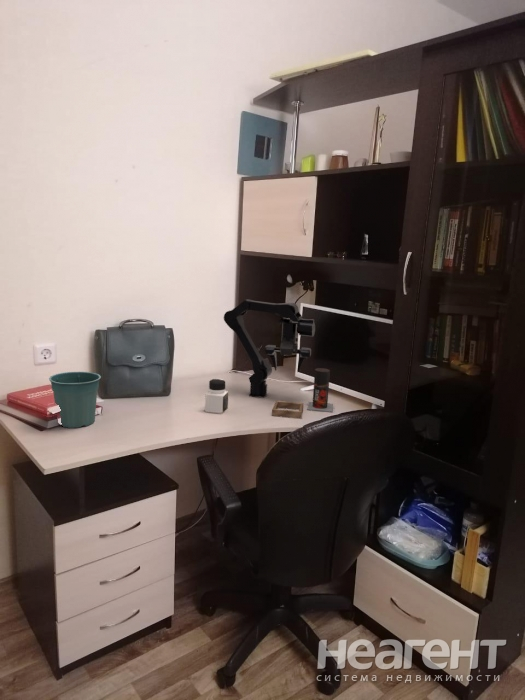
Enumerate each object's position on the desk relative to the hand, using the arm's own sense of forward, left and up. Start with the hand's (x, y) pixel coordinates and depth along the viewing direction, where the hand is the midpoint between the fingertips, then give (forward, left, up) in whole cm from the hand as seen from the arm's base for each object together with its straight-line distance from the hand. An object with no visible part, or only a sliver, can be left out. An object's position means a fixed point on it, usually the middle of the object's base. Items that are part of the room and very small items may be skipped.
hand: (286, 371), depth 206 cm
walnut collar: (+3, -17, -12) cm, 21 cm away
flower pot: (-67, -48, -12) cm, 83 cm away
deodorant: (+15, -7, -12) cm, 20 cm away
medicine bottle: (-24, -22, -12) cm, 35 cm away
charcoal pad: (+15, -7, -12) cm, 20 cm away
